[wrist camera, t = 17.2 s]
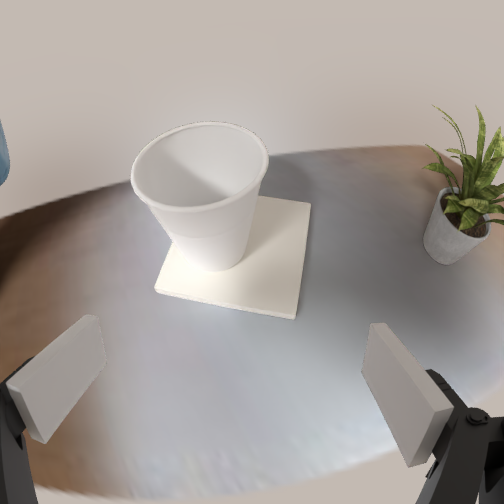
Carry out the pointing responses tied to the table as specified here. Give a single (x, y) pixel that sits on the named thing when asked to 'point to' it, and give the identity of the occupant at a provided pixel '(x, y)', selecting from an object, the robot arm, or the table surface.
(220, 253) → the cup
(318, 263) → the table surface
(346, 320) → the table surface
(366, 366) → the robot arm
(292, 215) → the placemat
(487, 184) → the house plant
